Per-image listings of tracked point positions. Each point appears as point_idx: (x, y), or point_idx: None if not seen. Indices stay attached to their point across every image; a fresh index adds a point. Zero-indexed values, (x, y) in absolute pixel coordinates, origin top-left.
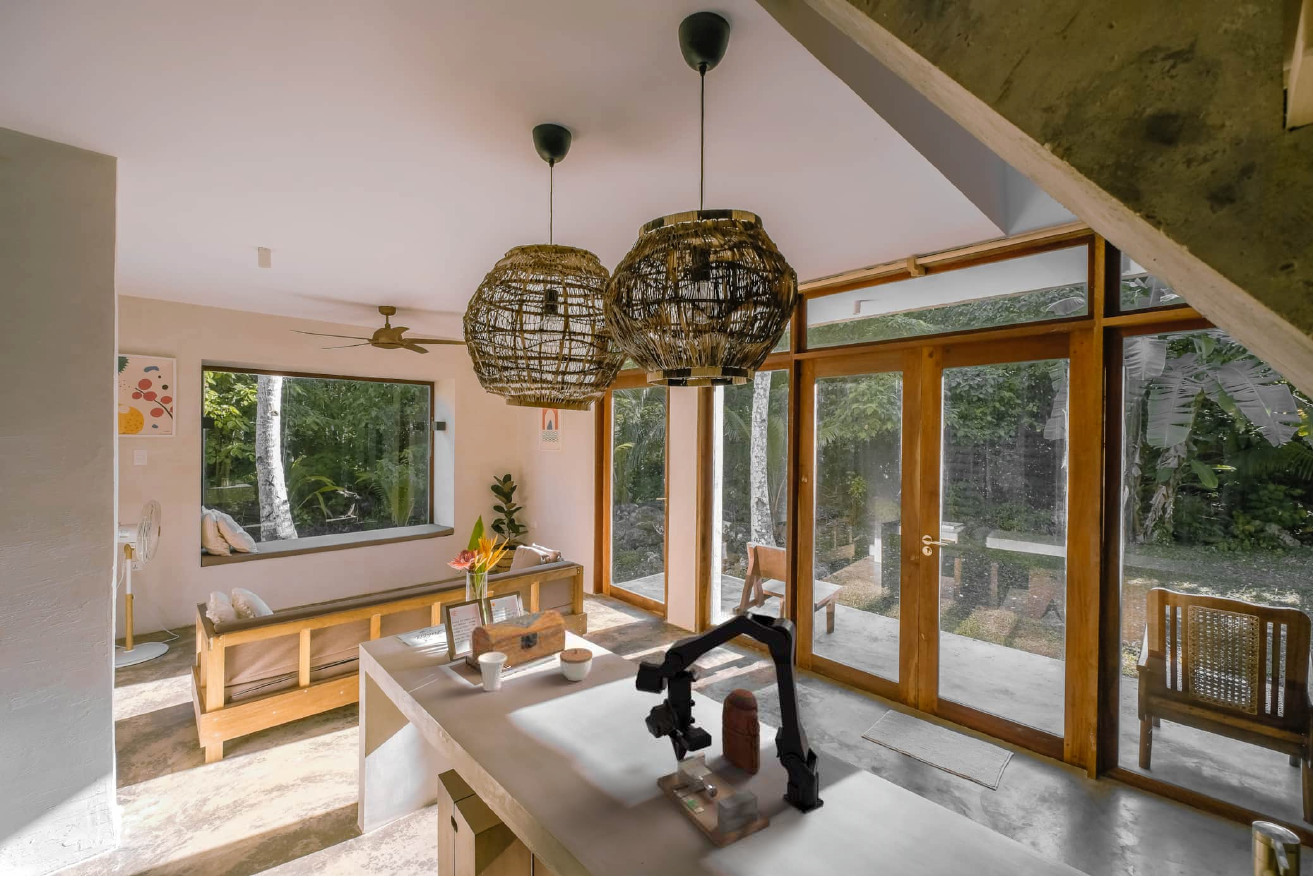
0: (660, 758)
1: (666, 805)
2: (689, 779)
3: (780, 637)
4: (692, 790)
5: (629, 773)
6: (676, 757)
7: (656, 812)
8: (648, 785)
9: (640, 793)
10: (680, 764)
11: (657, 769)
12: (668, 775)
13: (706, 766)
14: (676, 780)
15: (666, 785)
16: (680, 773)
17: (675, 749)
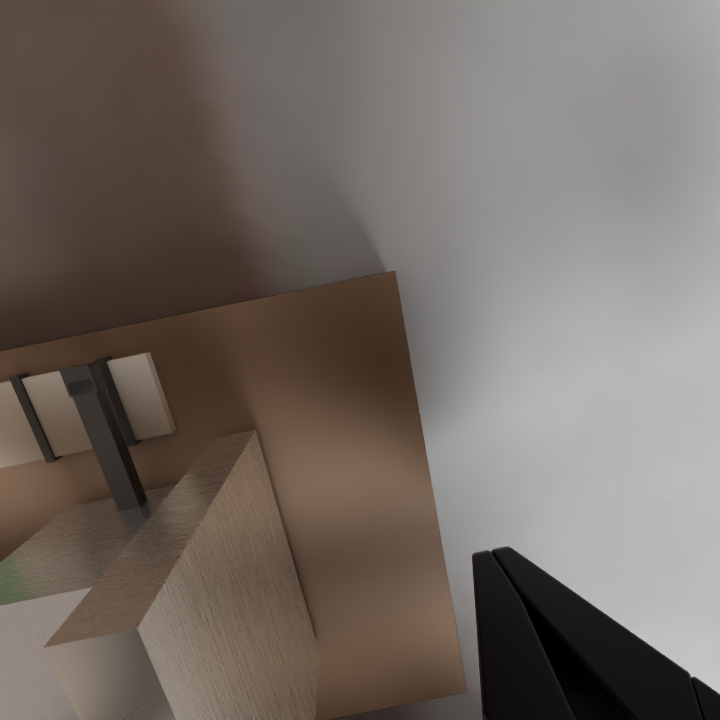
0: (710, 419)
1: (99, 251)
2: (64, 561)
3: None
4: (74, 511)
5: (652, 78)
6: (524, 570)
7: (15, 127)
8: (412, 195)
9: (323, 76)
10: (77, 624)
11: (589, 348)
12: (404, 390)
13: (412, 696)
14: (308, 432)
15: (260, 320)
16: (162, 510)
17: (593, 674)
